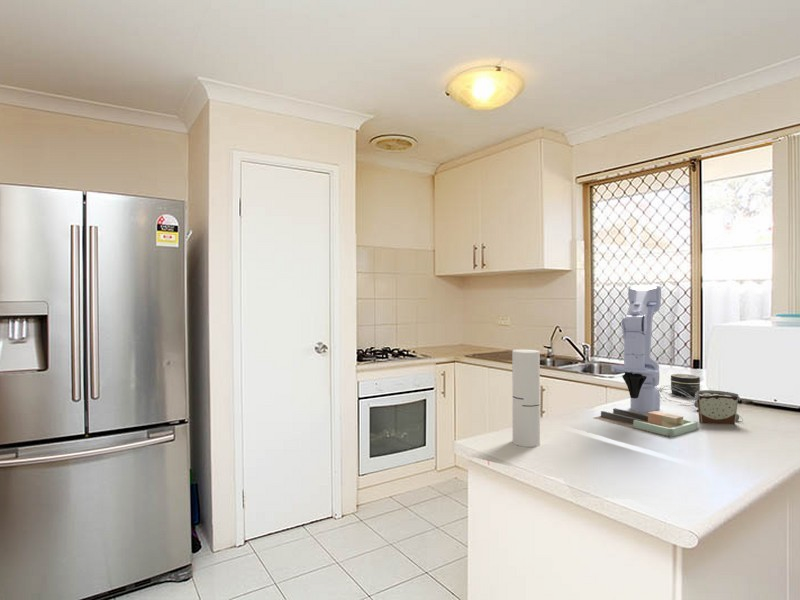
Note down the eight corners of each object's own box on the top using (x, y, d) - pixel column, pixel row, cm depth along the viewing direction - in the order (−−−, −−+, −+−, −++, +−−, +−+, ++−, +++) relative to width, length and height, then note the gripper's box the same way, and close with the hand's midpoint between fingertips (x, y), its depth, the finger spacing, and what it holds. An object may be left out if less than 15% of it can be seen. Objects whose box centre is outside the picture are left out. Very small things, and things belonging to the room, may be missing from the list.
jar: (705, 395, 183) (705, 376, 183) (691, 398, 178) (691, 379, 178) (679, 391, 191) (679, 372, 191) (665, 394, 186) (665, 375, 186)
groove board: (622, 414, 155) (622, 406, 155) (699, 431, 135) (699, 423, 135) (592, 421, 147) (592, 413, 147) (669, 441, 126) (669, 432, 126)
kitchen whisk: (735, 424, 143) (735, 403, 143) (653, 400, 176) (653, 384, 176) (751, 422, 145) (751, 402, 145) (666, 399, 178) (666, 383, 178)
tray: (659, 420, 144) (659, 413, 144) (697, 428, 134) (697, 422, 134) (633, 427, 136) (633, 420, 136) (671, 436, 127) (671, 429, 127)
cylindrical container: (519, 437, 131) (519, 348, 130) (544, 442, 126) (543, 350, 126) (508, 443, 125) (507, 351, 125) (533, 448, 121) (533, 353, 120)
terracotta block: (655, 423, 140) (655, 410, 140) (668, 427, 136) (668, 413, 136) (647, 425, 138) (647, 412, 138) (661, 429, 134) (661, 415, 134)
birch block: (669, 426, 136) (669, 413, 136) (683, 430, 133) (683, 416, 133) (661, 429, 134) (661, 415, 134) (675, 432, 131) (675, 418, 131)
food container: (727, 421, 145) (727, 390, 145) (740, 427, 139) (740, 394, 139) (686, 421, 146) (686, 389, 146) (696, 426, 140) (696, 393, 140)
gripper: (605, 352, 147) (605, 395, 147) (650, 357, 135) (650, 404, 135) (618, 350, 151) (618, 392, 151) (663, 355, 139) (663, 401, 139)
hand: (634, 397), depth 143 cm, fingers closed
